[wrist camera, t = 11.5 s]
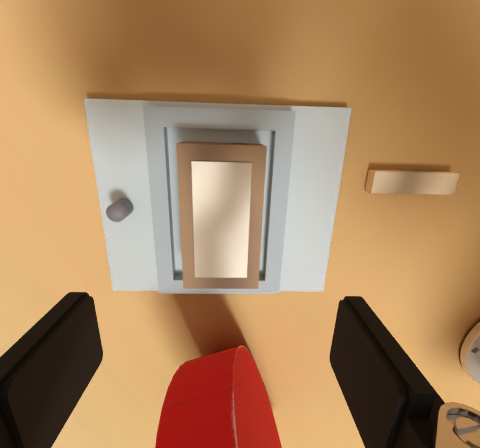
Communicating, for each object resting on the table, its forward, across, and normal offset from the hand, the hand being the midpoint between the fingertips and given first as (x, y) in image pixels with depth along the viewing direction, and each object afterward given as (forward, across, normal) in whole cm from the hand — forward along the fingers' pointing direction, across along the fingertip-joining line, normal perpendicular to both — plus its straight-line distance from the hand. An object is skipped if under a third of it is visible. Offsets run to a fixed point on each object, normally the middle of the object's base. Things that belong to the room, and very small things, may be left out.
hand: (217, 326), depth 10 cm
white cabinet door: (+16, +1, 0) cm, 17 cm away
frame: (+16, 0, 0) cm, 16 cm away
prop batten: (+17, -17, -3) cm, 24 cm away
